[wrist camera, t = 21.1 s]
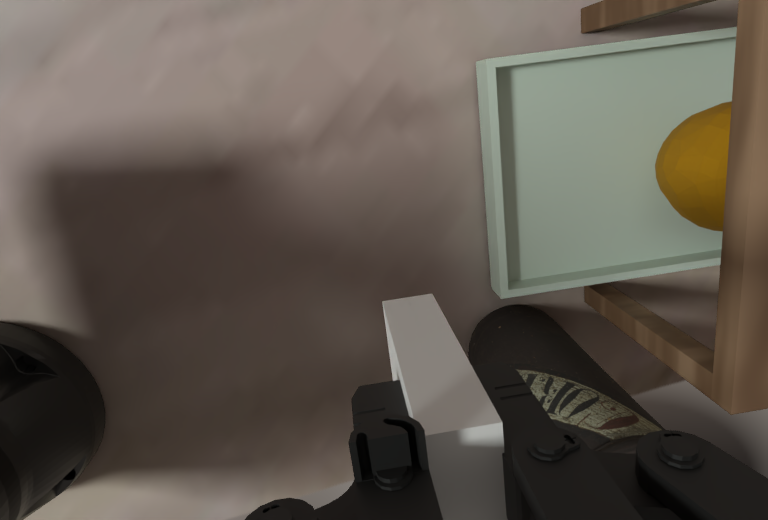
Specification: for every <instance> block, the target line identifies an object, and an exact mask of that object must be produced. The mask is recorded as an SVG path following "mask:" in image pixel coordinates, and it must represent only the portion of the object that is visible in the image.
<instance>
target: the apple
mask: <svg viewBox="0 0 768 520" xmlns="http://www.w3.org/2000/svg"><path fill="white" fill-rule="evenodd" d="M731 106H732V101H731V102H726V103H721V104H719V105H716V106H714V107H711V108H709V109H706V110H703V111H701V112H698V113H696V114H693V115H691V116H690V117H688V118H687V119H686V120H684V121H683V122H682V123H680V124H679V125H678V126H677V127H676V128H675V129H674V130H672V132H671V133H670V134H669V135H668V137H667V138H666V139H665V141H664V142H663V144H662V146H661V148H660V150H659V153H658V155H657V159H656V163H655V171H656V179H657V182H658V185H659V188H660V190H661V191H662V193H663V194H664V195H665V197H666V198H667V199H668V201H669V202H670V204H671V205H672V207H673V208H674V209H675V210H676V211H677V212H678V213H679V214H680V215H681V216H682V217H684V218H685V219H687V220H689V221H690V222H692V223H694V224H696V225H697V226H699V227H703V228H706V229H710V230H713V231H722V232H723V221H724V206H725V192H726V178H727V163H728V149H729V134H730V120H731Z"/></svg>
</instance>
